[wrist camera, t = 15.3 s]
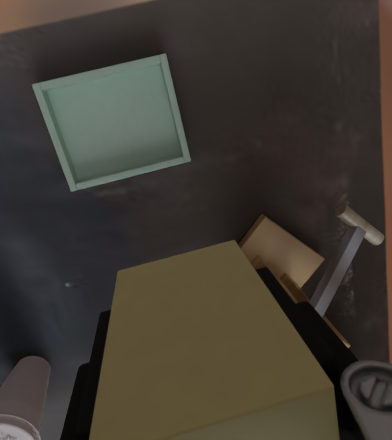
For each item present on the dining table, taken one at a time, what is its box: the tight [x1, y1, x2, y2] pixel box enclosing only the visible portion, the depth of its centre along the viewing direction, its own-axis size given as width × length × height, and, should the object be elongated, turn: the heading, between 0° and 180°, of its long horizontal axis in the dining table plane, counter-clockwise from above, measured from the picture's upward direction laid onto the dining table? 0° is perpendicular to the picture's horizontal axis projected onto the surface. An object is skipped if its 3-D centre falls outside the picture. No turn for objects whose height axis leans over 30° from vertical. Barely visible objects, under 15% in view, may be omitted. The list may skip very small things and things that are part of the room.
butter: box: [89, 240, 340, 440], centre depth 8 cm, size 5×4×6 cm
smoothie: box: [0, 356, 51, 440], centre depth 31 cm, size 6×6×14 cm
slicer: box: [238, 214, 350, 348], centre depth 32 cm, size 12×9×13 cm
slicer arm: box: [309, 204, 384, 317], centre depth 28 cm, size 13×5×2 cm, turn 144°
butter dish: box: [32, 53, 191, 191], centre depth 30 cm, size 11×9×2 cm
